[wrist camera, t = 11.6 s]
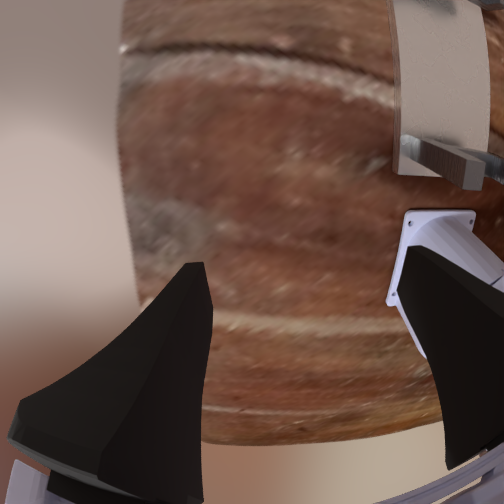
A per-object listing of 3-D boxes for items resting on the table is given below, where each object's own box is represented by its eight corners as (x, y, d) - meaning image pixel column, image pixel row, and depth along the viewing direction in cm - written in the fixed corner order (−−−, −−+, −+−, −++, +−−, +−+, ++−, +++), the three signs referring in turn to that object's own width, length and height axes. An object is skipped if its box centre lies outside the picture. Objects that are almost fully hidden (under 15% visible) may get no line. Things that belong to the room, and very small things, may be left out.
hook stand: (475, 176, 17) (530, 212, 11) (391, 170, 17) (447, 210, 12) (469, -7, 8) (525, -15, 2) (376, -42, 9) (422, -78, 3)
